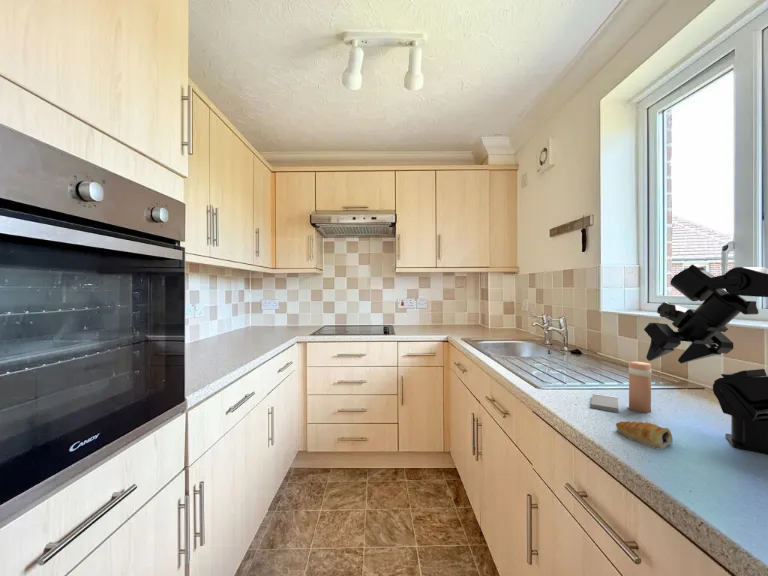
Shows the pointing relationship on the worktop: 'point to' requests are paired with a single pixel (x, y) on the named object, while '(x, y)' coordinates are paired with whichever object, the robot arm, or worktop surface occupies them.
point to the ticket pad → (604, 402)
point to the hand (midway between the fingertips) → (663, 360)
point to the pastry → (646, 433)
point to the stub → (640, 386)
